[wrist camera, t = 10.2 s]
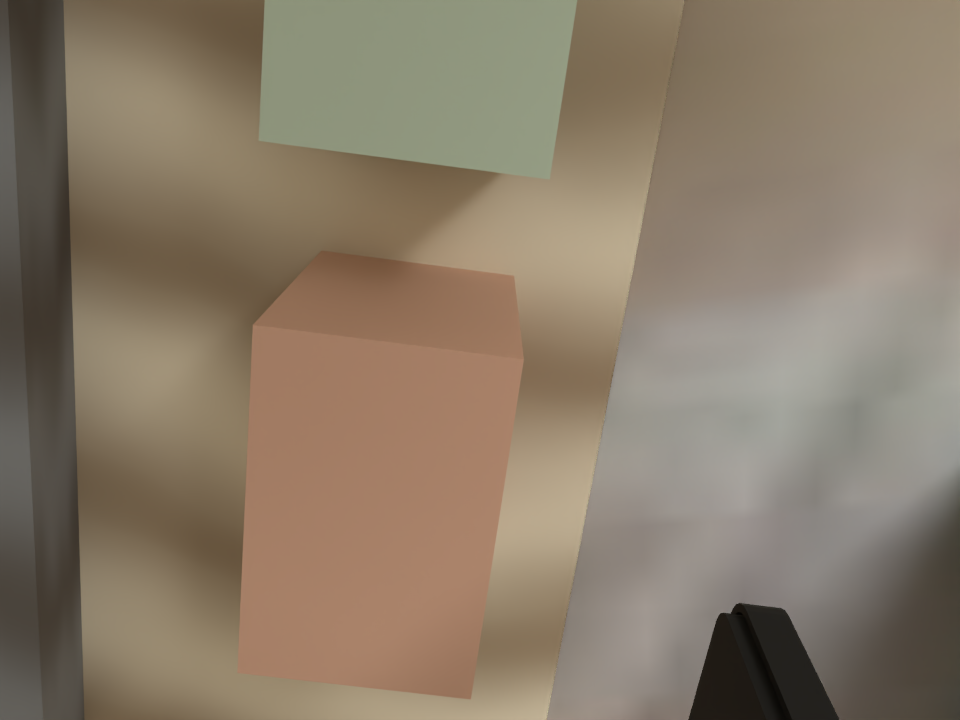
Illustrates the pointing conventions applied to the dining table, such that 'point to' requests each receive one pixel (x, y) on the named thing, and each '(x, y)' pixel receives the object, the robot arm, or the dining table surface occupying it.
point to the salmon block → (376, 473)
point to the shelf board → (228, 344)
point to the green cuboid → (418, 79)
